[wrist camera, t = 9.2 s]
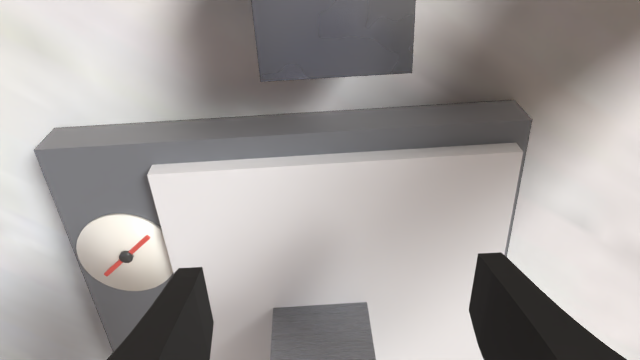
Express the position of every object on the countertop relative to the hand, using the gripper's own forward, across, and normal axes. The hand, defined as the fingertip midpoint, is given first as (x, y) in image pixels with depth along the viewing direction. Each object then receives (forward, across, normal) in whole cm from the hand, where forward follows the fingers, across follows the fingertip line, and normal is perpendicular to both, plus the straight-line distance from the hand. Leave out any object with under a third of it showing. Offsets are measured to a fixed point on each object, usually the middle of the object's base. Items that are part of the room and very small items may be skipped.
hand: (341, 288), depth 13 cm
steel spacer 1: (+10, 0, -6) cm, 12 cm away
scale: (+10, +2, +8) cm, 13 cm away
